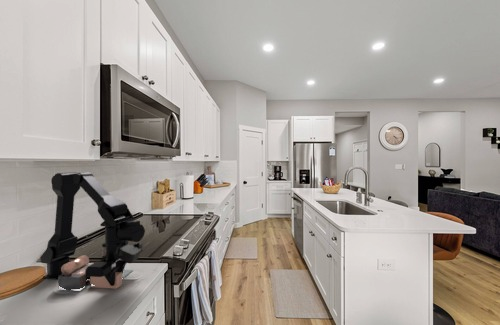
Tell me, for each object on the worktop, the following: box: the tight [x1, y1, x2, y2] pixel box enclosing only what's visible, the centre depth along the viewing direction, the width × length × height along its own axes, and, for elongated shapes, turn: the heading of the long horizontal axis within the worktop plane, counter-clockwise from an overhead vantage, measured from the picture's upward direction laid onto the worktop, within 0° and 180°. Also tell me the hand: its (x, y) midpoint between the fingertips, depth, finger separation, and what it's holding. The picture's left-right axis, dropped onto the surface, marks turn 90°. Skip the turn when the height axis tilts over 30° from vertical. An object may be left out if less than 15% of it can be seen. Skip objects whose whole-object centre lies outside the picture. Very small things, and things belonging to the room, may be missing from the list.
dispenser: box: [57, 254, 94, 290], centre depth 77 cm, size 8×8×9 cm
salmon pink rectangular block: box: [89, 272, 123, 289], centre depth 76 cm, size 10×2×4 cm, turn 84°
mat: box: [122, 269, 134, 279], centre depth 83 cm, size 13×7×1 cm, turn 84°
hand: (115, 283), depth 75 cm, fingers closed on salmon pink rectangular block, 2 cm apart
